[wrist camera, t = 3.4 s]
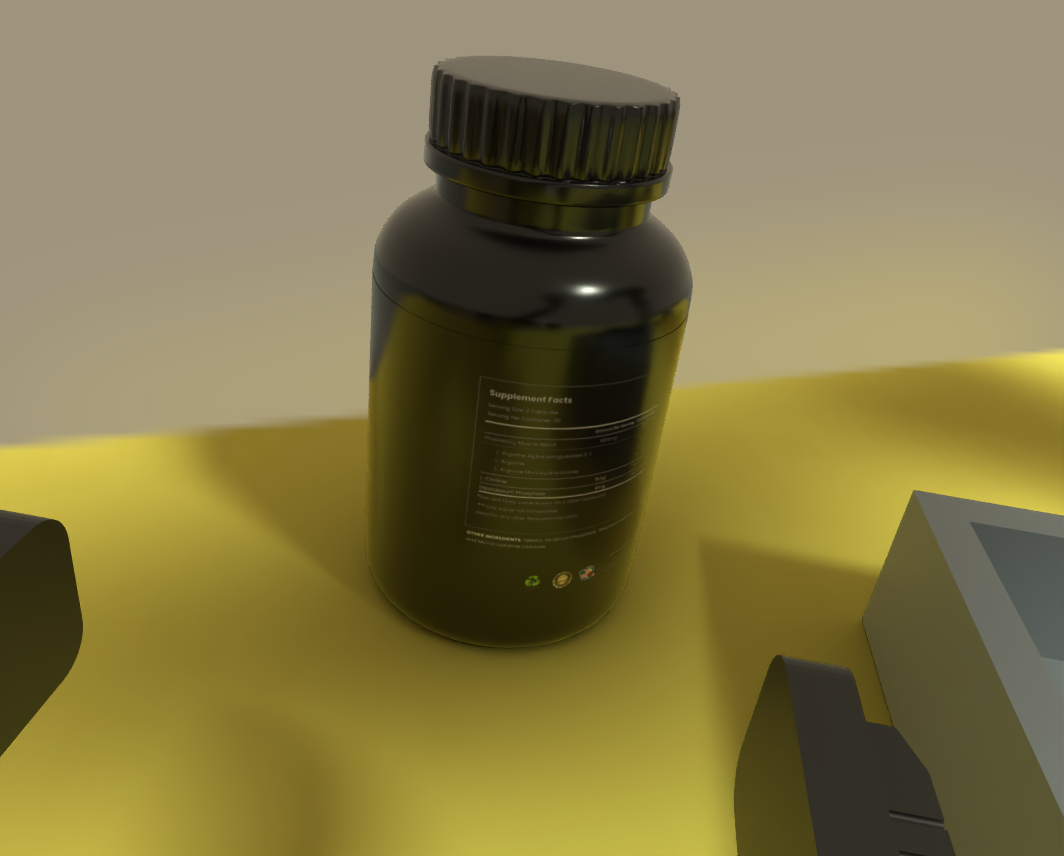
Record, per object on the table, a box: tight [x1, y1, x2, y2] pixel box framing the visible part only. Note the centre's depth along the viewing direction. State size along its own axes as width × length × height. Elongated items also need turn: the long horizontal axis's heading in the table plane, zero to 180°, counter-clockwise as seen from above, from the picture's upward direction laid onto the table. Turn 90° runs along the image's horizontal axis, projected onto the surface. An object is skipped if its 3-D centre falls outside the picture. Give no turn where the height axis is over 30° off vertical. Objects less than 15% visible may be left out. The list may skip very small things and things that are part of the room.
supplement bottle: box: [366, 56, 693, 648], centre depth 20 cm, size 7×7×12 cm
